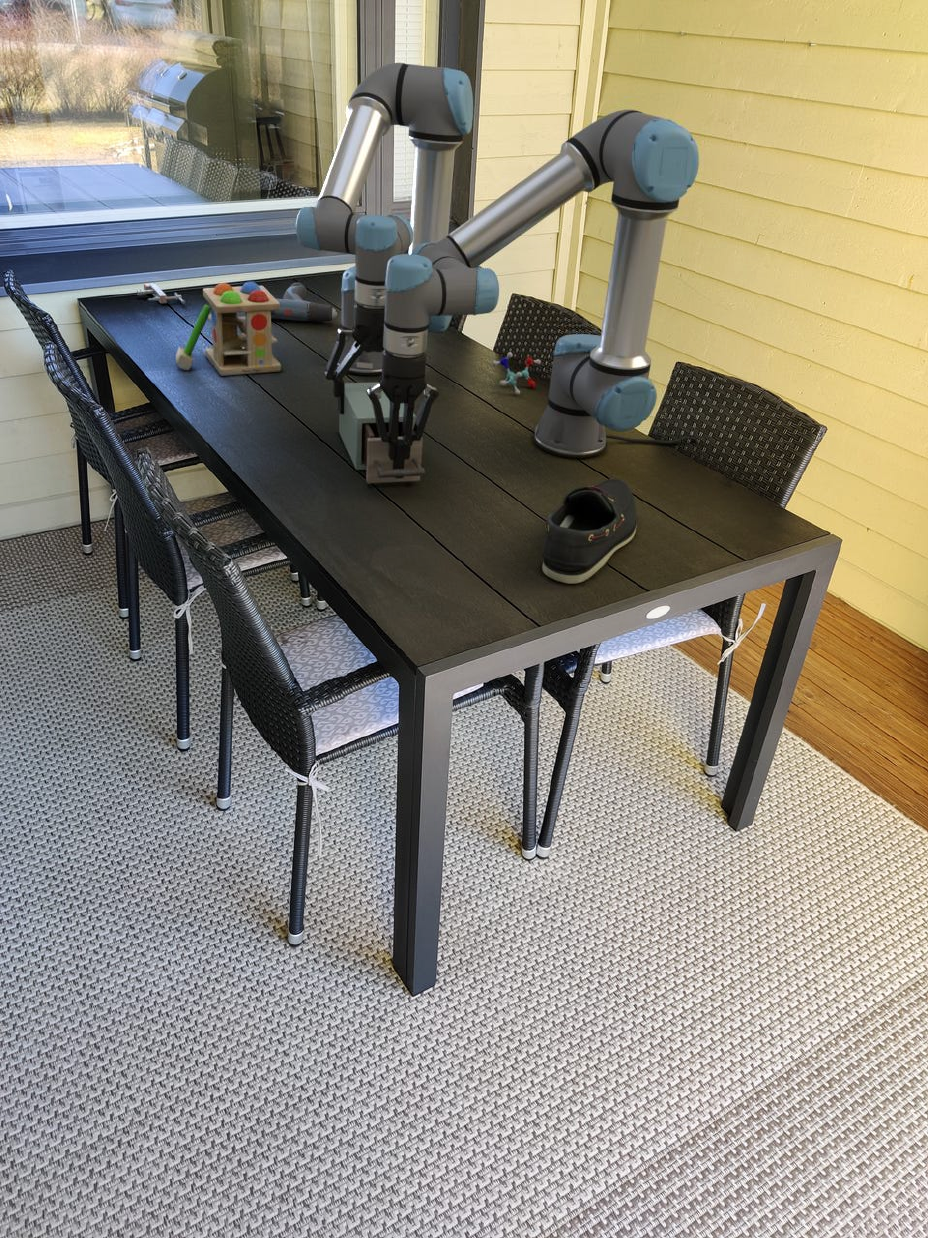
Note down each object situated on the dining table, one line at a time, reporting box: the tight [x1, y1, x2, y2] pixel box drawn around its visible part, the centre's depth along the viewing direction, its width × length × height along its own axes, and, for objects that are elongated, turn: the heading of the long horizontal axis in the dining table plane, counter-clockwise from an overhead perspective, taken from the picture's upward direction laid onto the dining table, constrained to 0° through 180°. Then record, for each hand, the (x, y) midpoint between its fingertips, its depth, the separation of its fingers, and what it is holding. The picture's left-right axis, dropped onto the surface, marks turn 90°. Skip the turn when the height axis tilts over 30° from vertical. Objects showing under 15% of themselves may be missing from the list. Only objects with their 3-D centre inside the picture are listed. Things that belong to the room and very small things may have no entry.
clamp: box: [136, 283, 186, 305], centre depth 265 cm, size 15×2×10 cm
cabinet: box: [338, 382, 417, 471], centre depth 196 cm, size 18×11×11 cm, turn 17°
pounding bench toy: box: [174, 281, 282, 377], centre depth 225 cm, size 23×14×18 cm, turn 116°
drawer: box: [361, 422, 426, 484], centre depth 187 cm, size 22×10×9 cm, turn 17°
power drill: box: [271, 282, 338, 322], centre depth 265 cm, size 5×19×20 cm
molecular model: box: [491, 351, 542, 396], centre depth 231 cm, size 12×10×10 cm
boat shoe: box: [541, 478, 638, 585], centre depth 172 cm, size 13×33×10 cm, turn 147°
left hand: (370, 410), depth 200 cm, fingers closed on cabinet, 11 cm apart
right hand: (398, 474), depth 181 cm, fingers closed
